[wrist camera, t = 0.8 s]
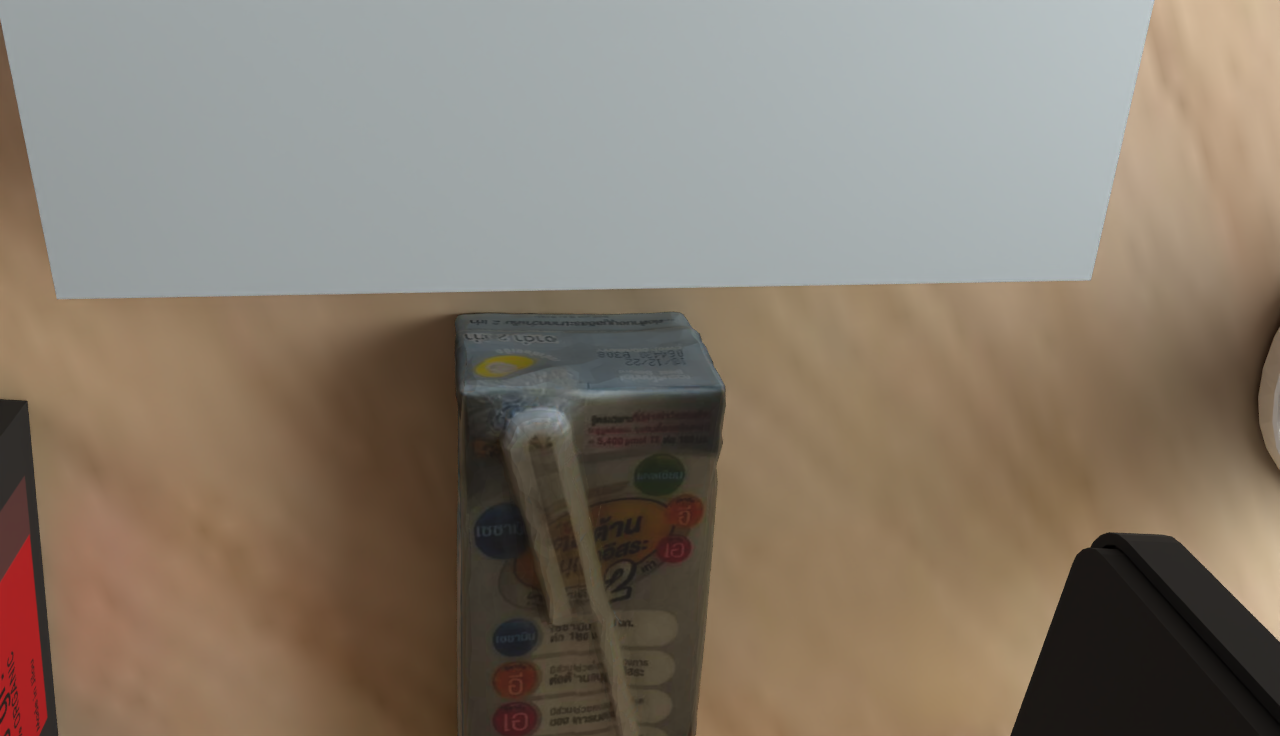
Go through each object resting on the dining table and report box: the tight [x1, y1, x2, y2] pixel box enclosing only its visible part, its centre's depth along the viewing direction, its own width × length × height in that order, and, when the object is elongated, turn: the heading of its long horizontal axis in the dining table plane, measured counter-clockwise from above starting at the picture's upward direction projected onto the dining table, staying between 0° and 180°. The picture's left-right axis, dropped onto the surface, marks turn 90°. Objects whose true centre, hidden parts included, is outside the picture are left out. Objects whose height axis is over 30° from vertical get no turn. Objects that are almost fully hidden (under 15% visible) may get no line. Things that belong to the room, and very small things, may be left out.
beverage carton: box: [455, 312, 726, 736], centre depth 37 cm, size 8×19×7 cm, turn 176°
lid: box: [0, 0, 1154, 299], centre depth 21 cm, size 24×13×5 cm, turn 88°
